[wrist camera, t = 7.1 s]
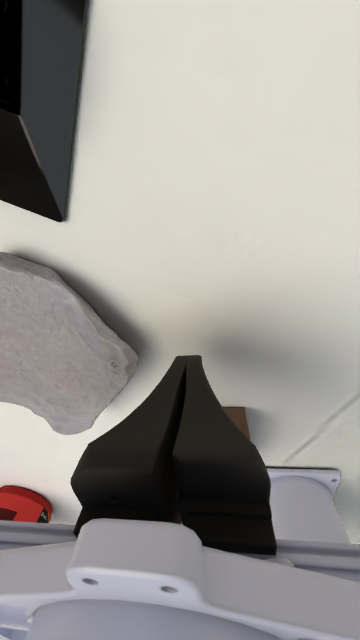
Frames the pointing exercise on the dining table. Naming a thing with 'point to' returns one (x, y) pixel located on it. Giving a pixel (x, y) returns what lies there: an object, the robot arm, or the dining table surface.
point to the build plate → (39, 101)
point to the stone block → (56, 349)
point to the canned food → (23, 506)
